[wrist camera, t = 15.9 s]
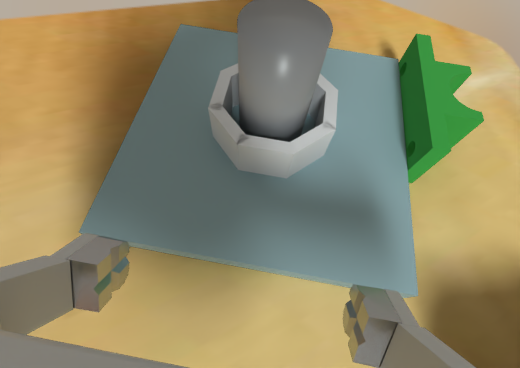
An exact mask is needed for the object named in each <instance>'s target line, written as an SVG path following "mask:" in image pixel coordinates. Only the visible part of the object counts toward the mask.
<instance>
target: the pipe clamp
mask: <svg viewBox="0 0 520 368" xmlns="http://www.w3.org/2000/svg"><path fill="white" fill-rule="evenodd" d="M399 74H400V86H401V98H402V110H403V122H404V134H405V146H406V157H407V169H408V181H409V183H413V182H414V181H415V180H416V179H418V178H419V177H420V176H421V175H422V174H424V173H425V172H426V171H427V170H429V169H430V168H431V167H432V166H433V165H435V164H436V163H437V162H438V161H440V160H441V159H442V158H443V157H444V156H446V155H447V154H448V153H449V152H451V148H452V147H453V146H454V145H455V144H457V143H458V142H459V141H460V140H461V139H463V138H464V137H465V136H466V135H467V134H469V133H470V132H471V131H472V130H473V129H475V128H476V127H477V126H478V125H479V124H481V123H482V122H483V121H484V119H483V115H482V112H479V111H475V110H473V109H470V108H468V107H466V106H465V105H463V104H462V103H460V102H459V101H458V100H457V99H456V98H455V97H454V95H453V93H454V92H455V91H456V90H457V89H458V88H459V87H460V86H461V85H462V84H463V82H464V81H465V80H466V79H467V78H468V77H469V76H470V75H471V74H472V73H471V69H470V67H469V66H463V65H456V64H450V63H444V62H438V61H435V59H434V54H433V48H432V42H431V37H430V36H428V35H421V34H416V35H415V37H414V38H413V40H412V42H411V43H410V45H409V47H408V48H407V50H406V52H405V53H404V55H403V57H402V58H401V60H400V62H399Z"/></svg>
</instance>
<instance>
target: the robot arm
mask: <svg viewBox="0 0 520 368" xmlns="http://www.w3.org/2000/svg"><path fill="white" fill-rule="evenodd" d="M128 253H129V243H128V242H127V241H124V240H119V239H114V238H110V237H105V236H99V235H95V234H89V233H85V234H82V235H81V236H79V237H78V238H76V239H75V240H73V241H72V242H70V243H69V244H67V245H66V246H64V247H63V248H62V249H60V250H59V251H57V252H56V253H54V254H53V255H51V256H42V257H38V258H35V259H31V260H27V261H23V262H20V263H16V264H12V265H8V266H5V267H1V268H0V368H188V367H183V366H178V365H173V364H168V363H163V362H158V361H153V360H148V359H143V358H138V357H133V356H128V355H123V354H118V353H113V352H108V351H103V350H98V349H93V348H88V347H83V346H78V345H73V344H68V343H63V342H58V341H53V340H48V339H43V338H38V337H33V336H28V335H27V334H28V333H30V332H32V331H34V330H36V329H38V328H40V327H41V326H43V325H45V324H47V323H49V322H51V321H53V320H54V319H56V318H58V317H60V316H62V315H64V314H65V313H67V312H69V311H71V310H73V308H77V309H83V310H89V311H95V312H100V311H101V309H102V308H103V307H104V306H105V305H106V304H107V302H108V301H109V300H110V299H111V298H112V292H113V291H115V290H118V289H120V287H121V286H122V285H123V284H124V282H125V280H126V278H127V276H128V272H129V261H128V260H127V258H126V257H125V256H126V255H127V254H128ZM349 295H350V298H351V300H350V301H349V302H347V303H346V304H345V308H344V312H343V326H344V330H345V333H346V334H347V335H348V336H349V337H350V339H349V342H348V346H349V350H350V353H351V357H352V361H353V362H355V363H359V364H364V365H368V366H373V367H377V368H476V367H474V366H473V365H472V364H471V363H469V362H468V361H467V360H465V359H464V358H463V357H462V356H460V355H459V354H458V353H456V352H455V351H454V350H452V349H451V348H450V347H449V346H447V345H446V344H445V343H443V342H442V341H441V340H440V339H438V338H437V337H436V336H434V335H433V334H432V333H431V332H429V331H428V330H427V329H425V328H422V327H420V326H419V325H418V323H417V321H416V320H415V318H414V316H413V315H412V313H411V311H410V310H409V308H408V306H407V305H406V303H405V301H404V299H403V298H402V296H401V294H400V293H399V292H398V291H395V290H388V289H380V288H374V287H368V286H362V285H357V284H353V285H352V287H351V289H350V292H349Z"/></svg>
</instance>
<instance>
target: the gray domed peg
mask: <svg viewBox="0 0 520 368" xmlns="http://www.w3.org/2000/svg"><path fill="white" fill-rule="evenodd" d="M237 28H238V73H239V118H240V128H241V130H242V131H243V132H244V133H245V134H246V135H251V136H257V137H262V138H268V139H274V140H280V141H286V142H291V141H293V140H294V139H296V138H298V137H300V136H301V134H302V130H303V127H304V124H305V121H306V117H307V114H308V111H309V108H310V104H311V101H312V98H313V95H314V91H315V88H316V85H317V82H318V78H319V75H320V72H321V69H322V65H323V62H324V59H325V56H326V52H327V49H328V46H329V42H330V39H331V36H332V32H333V27H332V23H331V20H330V18H329V17H328V15H327V14H326V13H325V12H324V11H323V10H322V9H321V8H320V7H318V6H317V5H315V4H313V3H311V2H309V1H307V0H253V1H252V2H250V3H248V4H247V5H246V6H245V7H244V8H243V9H242V10H241V11H240V13H239V15H238V19H237Z"/></svg>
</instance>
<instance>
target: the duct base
mask: <svg viewBox="0 0 520 368" xmlns="http://www.w3.org/2000/svg"><path fill="white" fill-rule="evenodd" d="M79 233H81V234H85V233H89V234H95V235H99V236H105V237H110V238H114V239H119V240H124V241H127V242H128V243H129V246H131V247H137V248H142V249H147V250H153V251H158V252H163V253H168V254H174V255H179V256H184V257H190V258H195V259H200V260H206V261H211V262H216V263H222V264H227V265H232V266H237V267H243V268H248V269H253V270H259V271H264V272H269V273H275V274H280V275H285V276H290V277H296V278H301V279H306V280H312V281H317V282H322V283H328V284H333V285H338V286H343V287H349V288H351V287H352V285H353V284H357V285H362V286H368V287H374V288H380V289H388V290H395V291H398V292H399V293H400V294H401V296H402V298H408V297H415V296H418V289H417V277H416V265H415V253H414V241H413V229H412V217H411V205H410V193H409V181H408V169H407V157H406V146H405V134H404V122H403V110H402V98H401V86H400V74H399V62H398V59H394V58H388V57H382V56H375V55H369V54H363V53H357V52H351V51H344V50H338V49H332V48H328V49H327V52H326V56H325V59H324V62H323V65H322V69H321V72H320V75H319V78H318V82H317V85H316V88H315V91H314V95H313V98H312V101H311V104H310V108H309V111H308V114H307V117H306V121H305V124H304V127H303V130H302V134H301V136H300V137H298V138H296V139H294V140H293V141H291V142H286V141H280V140H274V139H268V138H262V137H257V136H251V135H246V134H245V133H244V132H243V131H242V130H241V128H240V118H239V73H238V33H233V32H227V31H220V30H214V29H208V28H202V27H196V26H190V25H183V24H181V25H180V27H179V29H178V31H177V33H176V35H175V37H174V39H173V41H172V43H171V45H170V47H169V49H168V51H167V53H166V55H165V57H164V59H163V61H162V63H161V65H160V67H159V69H158V71H157V74H156V76H155V78H154V80H153V82H152V84H151V86H150V88H149V90H148V92H147V94H146V96H145V98H144V100H143V102H142V104H141V106H140V108H139V110H138V112H137V114H136V116H135V118H134V120H133V122H132V125H131V127H130V129H129V131H128V133H127V135H126V137H125V139H124V141H123V143H122V145H121V147H120V149H119V151H118V153H117V155H116V157H115V159H114V161H113V163H112V165H111V167H110V169H109V171H108V174H107V176H106V178H105V180H104V182H103V184H102V186H101V188H100V190H99V192H98V194H97V196H96V198H95V200H94V202H93V204H92V206H91V208H90V210H89V212H88V214H87V216H86V218H85V220H84V222H83V225H82V227H81V229H80V231H79Z"/></svg>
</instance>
